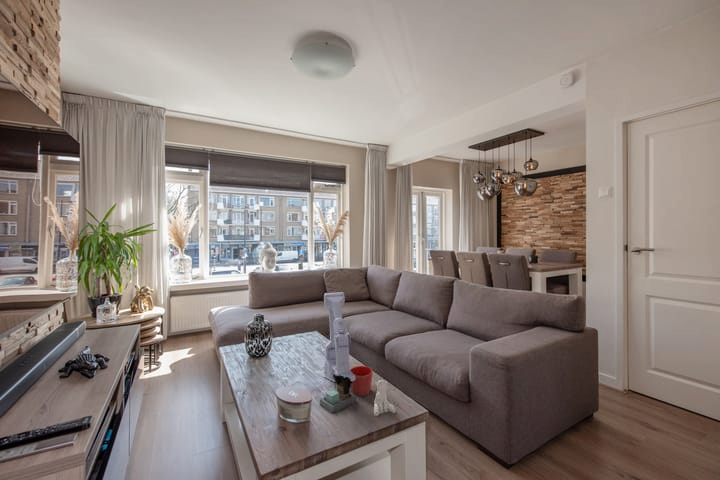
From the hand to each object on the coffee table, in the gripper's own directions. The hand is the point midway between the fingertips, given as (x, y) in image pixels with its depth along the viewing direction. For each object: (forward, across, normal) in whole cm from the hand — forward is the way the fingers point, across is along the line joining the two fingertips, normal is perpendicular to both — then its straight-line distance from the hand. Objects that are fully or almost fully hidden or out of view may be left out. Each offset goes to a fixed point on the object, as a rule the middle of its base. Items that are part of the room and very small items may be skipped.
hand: (343, 391), depth 138 cm
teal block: (+3, 0, -6) cm, 7 cm away
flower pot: (+4, -1, +11) cm, 12 cm away
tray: (+4, 0, -3) cm, 5 cm away
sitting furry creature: (+4, +16, +7) cm, 18 cm away
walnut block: (+2, 0, 0) cm, 2 cm away
